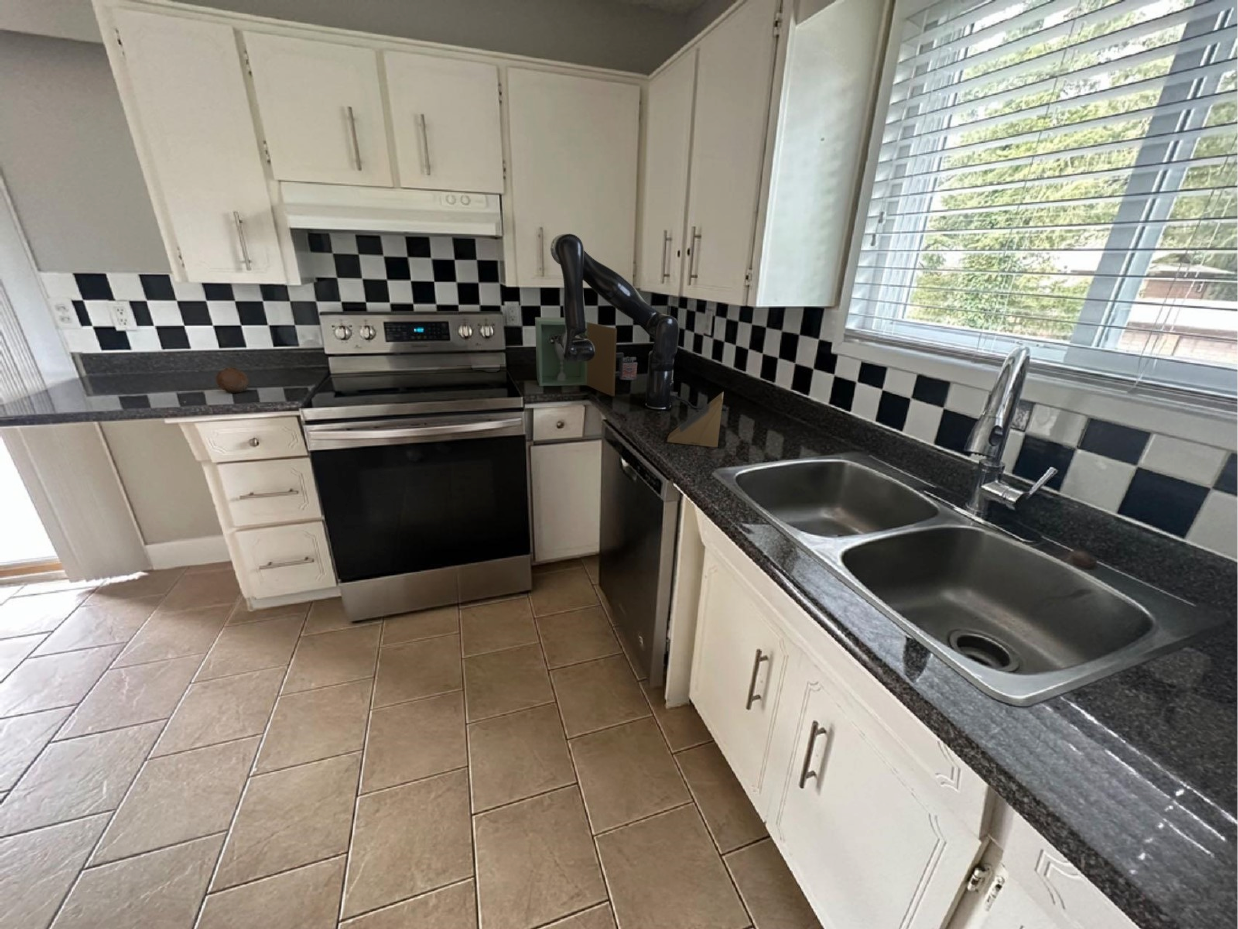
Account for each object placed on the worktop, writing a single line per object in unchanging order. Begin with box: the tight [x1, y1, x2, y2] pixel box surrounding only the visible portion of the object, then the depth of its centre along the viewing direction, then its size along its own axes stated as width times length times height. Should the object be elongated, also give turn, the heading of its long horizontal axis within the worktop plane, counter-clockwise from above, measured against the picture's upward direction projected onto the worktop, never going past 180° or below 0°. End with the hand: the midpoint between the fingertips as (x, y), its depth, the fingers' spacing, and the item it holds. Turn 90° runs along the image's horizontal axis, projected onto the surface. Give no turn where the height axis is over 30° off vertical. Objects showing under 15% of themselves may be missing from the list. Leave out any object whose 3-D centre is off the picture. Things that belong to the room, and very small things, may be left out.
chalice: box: [554, 342, 567, 381], centre depth 214 cm, size 7×7×18 cm
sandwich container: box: [666, 391, 724, 448], centre depth 151 cm, size 9×15×15 cm, turn 78°
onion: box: [215, 366, 249, 394], centre depth 184 cm, size 10×9×10 cm
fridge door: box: [586, 321, 624, 397], centre depth 202 cm, size 6×20×26 cm, turn 33°
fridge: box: [534, 316, 589, 387], centre depth 213 cm, size 14×20×26 cm
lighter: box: [618, 356, 638, 381], centre depth 226 cm, size 8×3×10 cm, turn 104°
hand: (565, 336), depth 198 cm, fingers open, 8 cm apart
